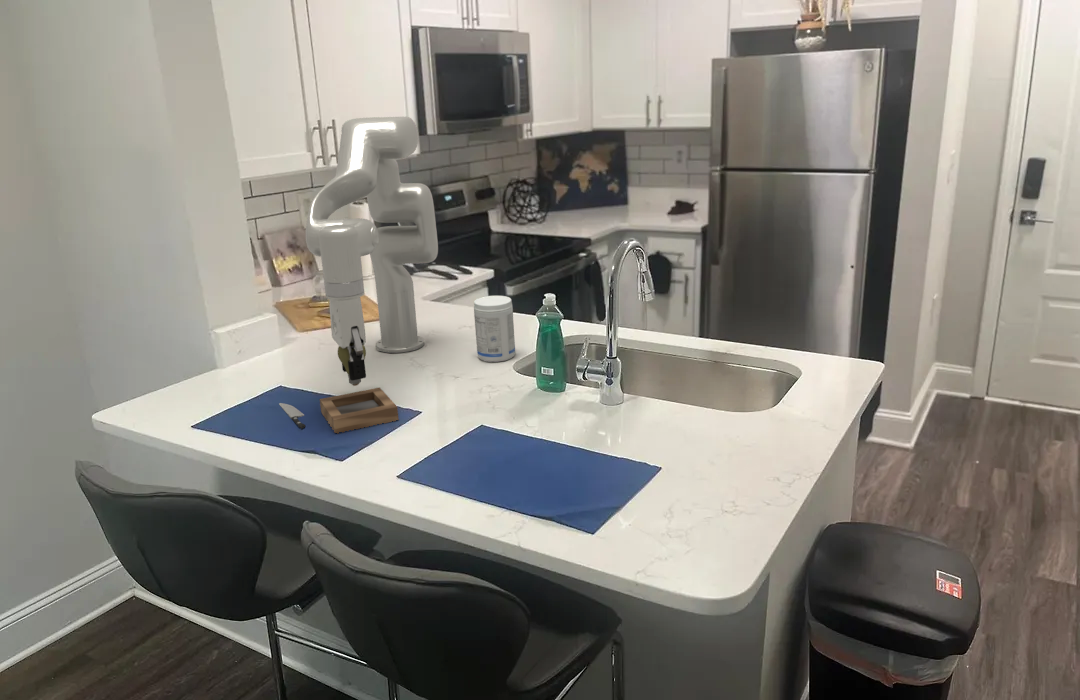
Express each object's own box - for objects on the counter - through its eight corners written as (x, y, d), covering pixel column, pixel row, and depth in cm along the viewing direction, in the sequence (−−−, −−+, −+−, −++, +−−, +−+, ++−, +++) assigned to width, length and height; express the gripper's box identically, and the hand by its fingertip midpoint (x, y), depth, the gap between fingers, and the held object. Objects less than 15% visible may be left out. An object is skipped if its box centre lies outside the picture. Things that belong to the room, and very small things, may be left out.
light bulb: (374, 384, 166) (369, 337, 163) (352, 391, 162) (346, 344, 159) (359, 378, 170) (353, 333, 167) (336, 386, 166) (330, 339, 163)
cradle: (321, 412, 171) (319, 399, 170) (380, 400, 177) (379, 387, 176) (335, 433, 160) (333, 419, 159) (398, 420, 165) (397, 406, 164)
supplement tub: (500, 348, 208) (497, 293, 204) (523, 356, 201) (520, 299, 197) (469, 357, 203) (465, 300, 198) (491, 365, 196) (488, 307, 191)
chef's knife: (290, 400, 180) (276, 403, 178) (289, 395, 180) (276, 398, 178) (315, 428, 164) (300, 431, 163) (314, 422, 164) (300, 425, 162)
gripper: (316, 282, 165) (326, 366, 171) (335, 299, 151) (346, 390, 156) (352, 277, 169) (361, 360, 174) (374, 294, 154) (384, 383, 160)
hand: (354, 373), depth 165 cm, fingers closed on light bulb, 5 cm apart
